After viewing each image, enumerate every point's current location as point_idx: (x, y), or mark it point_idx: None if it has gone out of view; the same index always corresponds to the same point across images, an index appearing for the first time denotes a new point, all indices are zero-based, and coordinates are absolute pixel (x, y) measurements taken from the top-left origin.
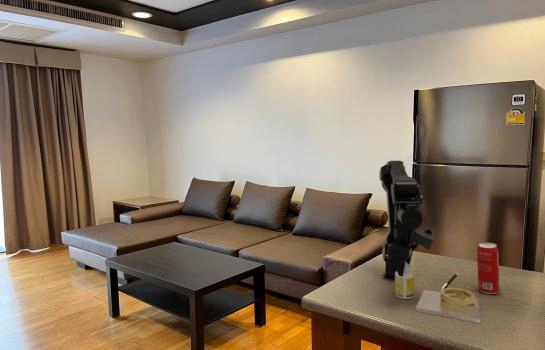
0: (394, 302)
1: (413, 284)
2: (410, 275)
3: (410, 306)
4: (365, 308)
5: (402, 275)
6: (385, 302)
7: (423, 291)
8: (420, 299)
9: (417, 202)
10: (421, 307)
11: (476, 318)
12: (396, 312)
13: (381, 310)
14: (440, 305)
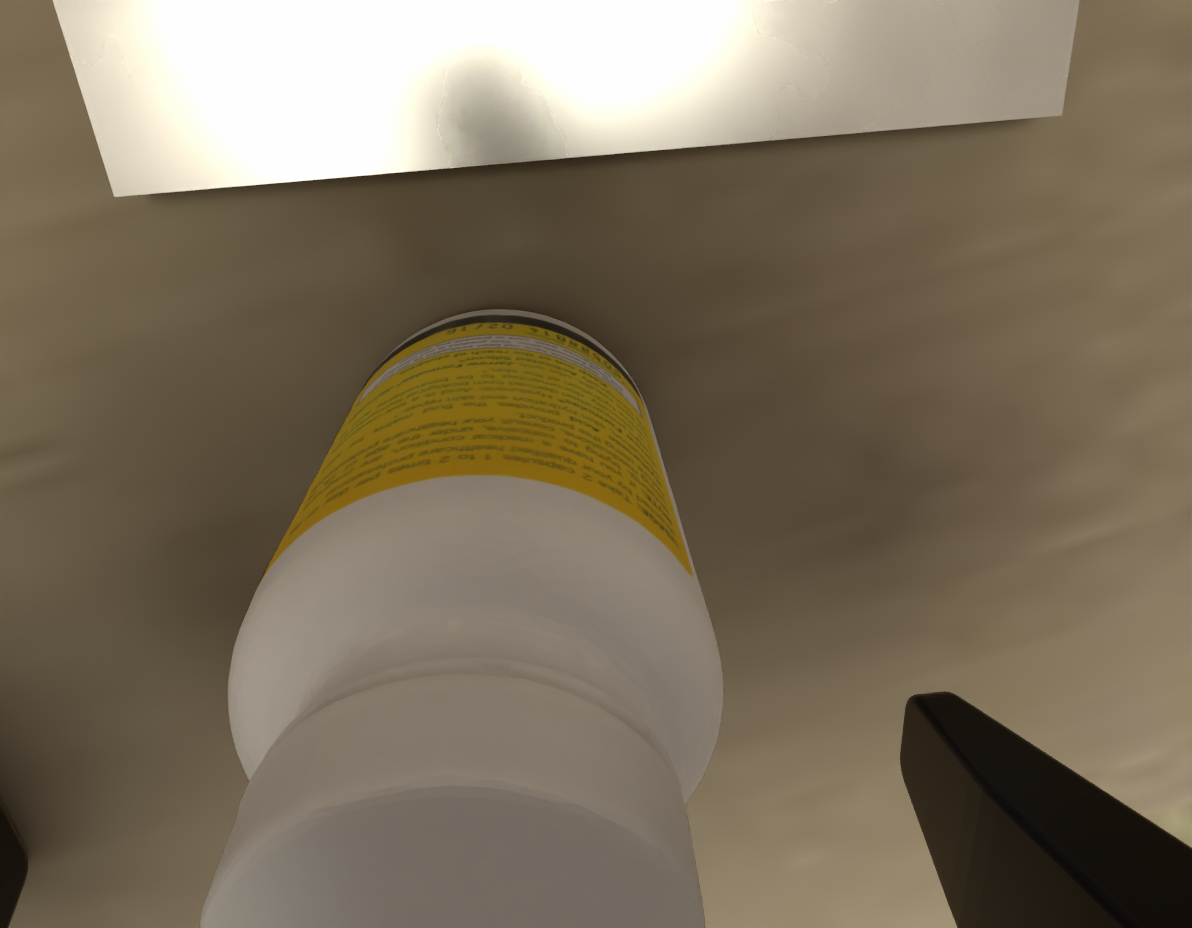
0: (821, 491)
1: (460, 390)
2: (601, 555)
3: (873, 244)
4: (1142, 705)
5: (965, 713)
6: (873, 586)
7: (214, 187)
8: (653, 135)
9: None
10: (1033, 14)
11: None
12: (1163, 363)
13: (1150, 545)
14: None
